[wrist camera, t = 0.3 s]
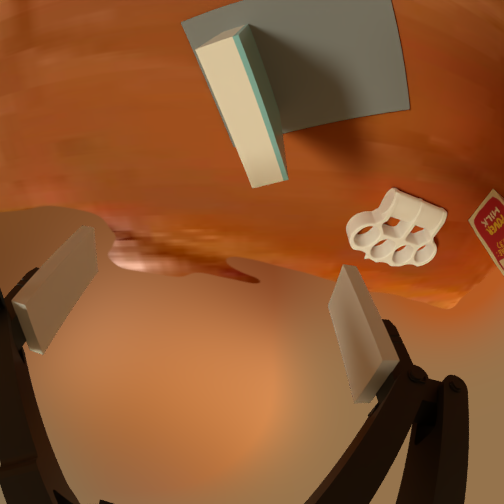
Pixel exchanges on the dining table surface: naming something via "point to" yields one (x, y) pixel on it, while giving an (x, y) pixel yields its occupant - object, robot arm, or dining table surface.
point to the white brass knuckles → (398, 230)
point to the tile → (246, 103)
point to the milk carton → (491, 226)
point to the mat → (318, 56)
